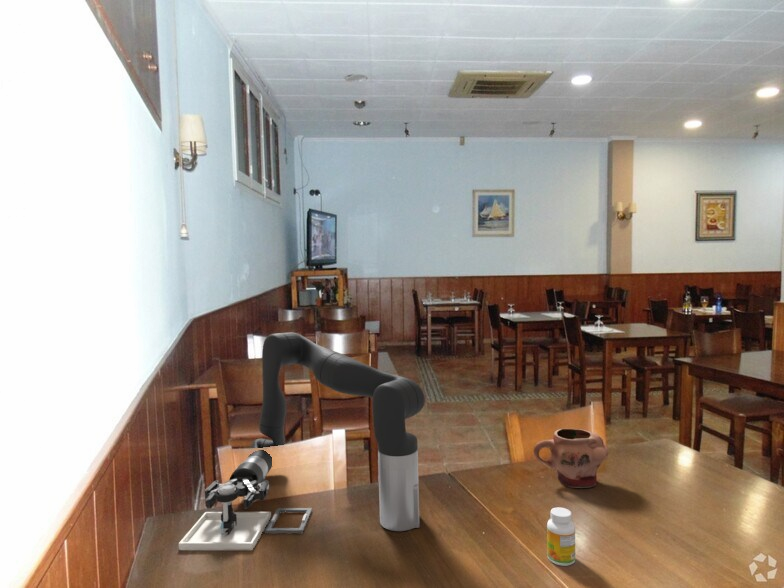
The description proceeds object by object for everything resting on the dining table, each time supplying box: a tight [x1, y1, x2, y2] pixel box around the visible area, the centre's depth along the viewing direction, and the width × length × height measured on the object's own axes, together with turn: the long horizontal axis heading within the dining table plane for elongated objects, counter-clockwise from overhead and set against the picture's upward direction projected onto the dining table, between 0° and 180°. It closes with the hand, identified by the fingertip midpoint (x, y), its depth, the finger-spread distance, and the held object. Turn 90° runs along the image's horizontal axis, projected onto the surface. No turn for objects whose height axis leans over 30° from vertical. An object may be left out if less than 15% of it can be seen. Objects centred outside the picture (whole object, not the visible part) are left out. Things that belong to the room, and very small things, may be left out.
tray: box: [178, 511, 272, 551], centre depth 115 cm, size 16×14×2 cm
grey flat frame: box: [264, 507, 313, 535], centre depth 120 cm, size 9×11×1 cm
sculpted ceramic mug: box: [533, 428, 610, 489], centre depth 137 cm, size 20×12×14 cm, turn 95°
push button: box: [215, 483, 239, 537], centre depth 115 cm, size 7×5×10 cm
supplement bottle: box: [546, 506, 576, 567], centre depth 102 cm, size 5×5×10 cm
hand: (226, 504), depth 115 cm, fingers open, 8 cm apart
